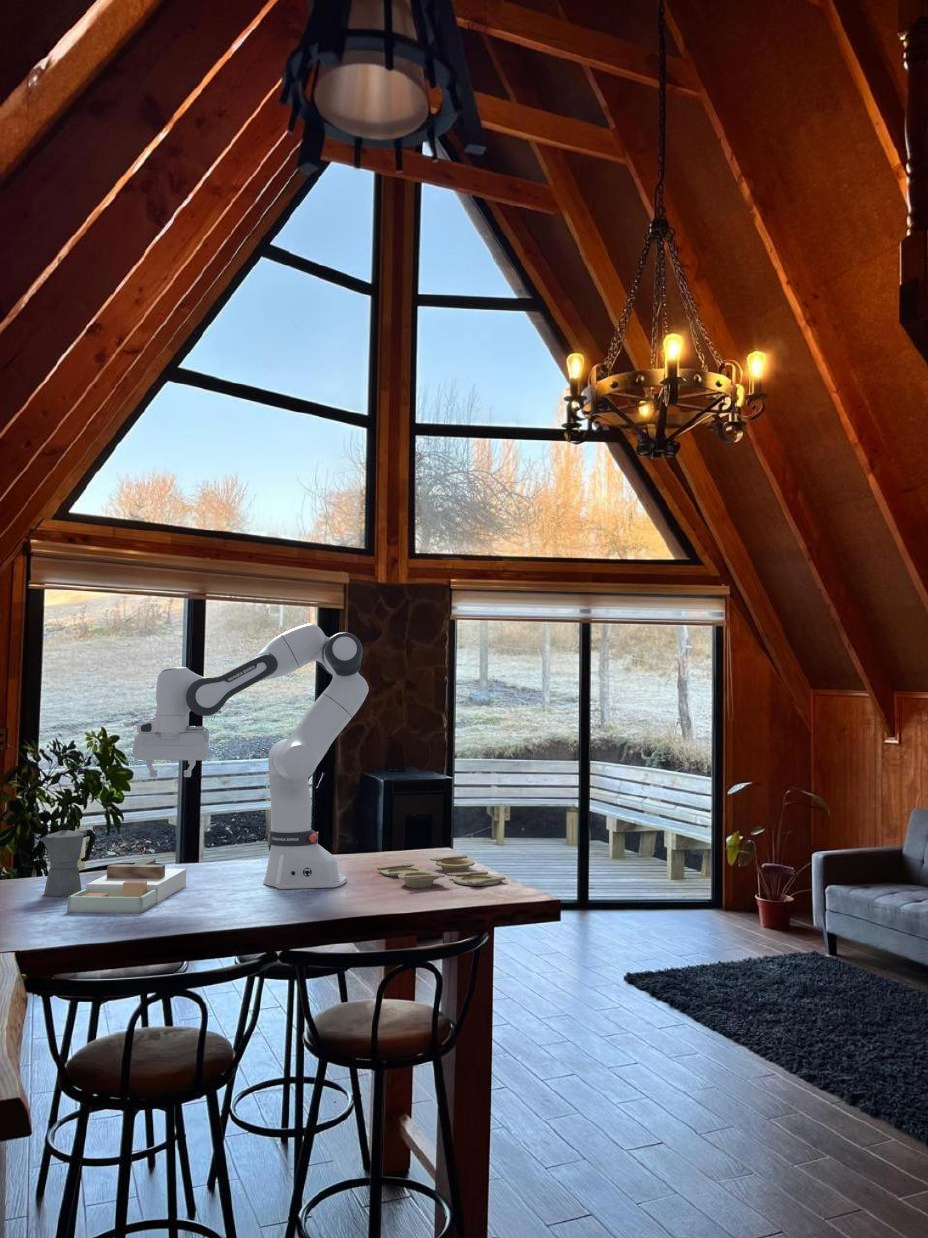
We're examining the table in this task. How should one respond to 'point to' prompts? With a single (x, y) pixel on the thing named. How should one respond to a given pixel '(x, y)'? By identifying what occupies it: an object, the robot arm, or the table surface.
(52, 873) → the coffeepot
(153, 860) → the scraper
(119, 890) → the box
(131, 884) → the tile
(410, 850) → the table surface
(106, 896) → the tile
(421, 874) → the tableware set
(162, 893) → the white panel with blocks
